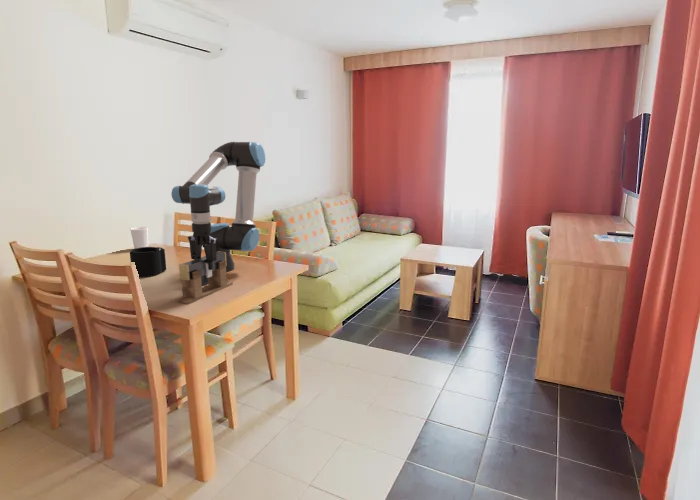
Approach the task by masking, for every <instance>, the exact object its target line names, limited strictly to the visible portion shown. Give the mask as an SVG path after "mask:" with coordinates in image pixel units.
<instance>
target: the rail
mask: <svg viewBox="0 0 700 500" xmlns="http://www.w3.org/2000/svg"><path fill="white" fill-rule="evenodd" d="M216 259H217V260H216V261H213V269H212V271H214V270H216V269H219V266H218V263H219V262H222V261H226V252H221V251H217V252H216ZM206 262H207V259H206V255H204V256H201V258H198V259H195V260H194V259H191V260H188V261H186V262H183V263H179V264H178V269H179V279H180V280H181V279H183V280H191V279H193V277H192V272H195V271H198V270H201V275H203V274H206ZM226 266H227V263H226Z"/></svg>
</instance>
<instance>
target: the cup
mask: <svg viewBox="0 0 700 500" xmlns="http://www.w3.org/2000/svg"><path fill="white" fill-rule="evenodd" d="M129 229H130V234H131V239H132V242H133V243H132V244H133V247H134V248H133V249H136V248H141V247H149V227H147V226H136V227H131V228H129Z"/></svg>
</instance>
